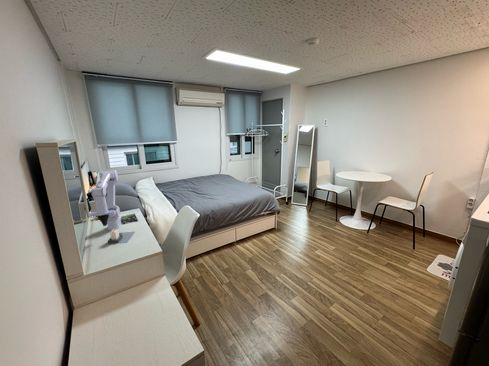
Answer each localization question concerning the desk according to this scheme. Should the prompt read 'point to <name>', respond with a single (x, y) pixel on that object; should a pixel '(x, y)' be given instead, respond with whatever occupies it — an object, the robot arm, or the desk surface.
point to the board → (124, 237)
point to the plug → (114, 234)
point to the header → (115, 240)
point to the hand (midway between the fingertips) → (105, 225)
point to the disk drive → (129, 218)
